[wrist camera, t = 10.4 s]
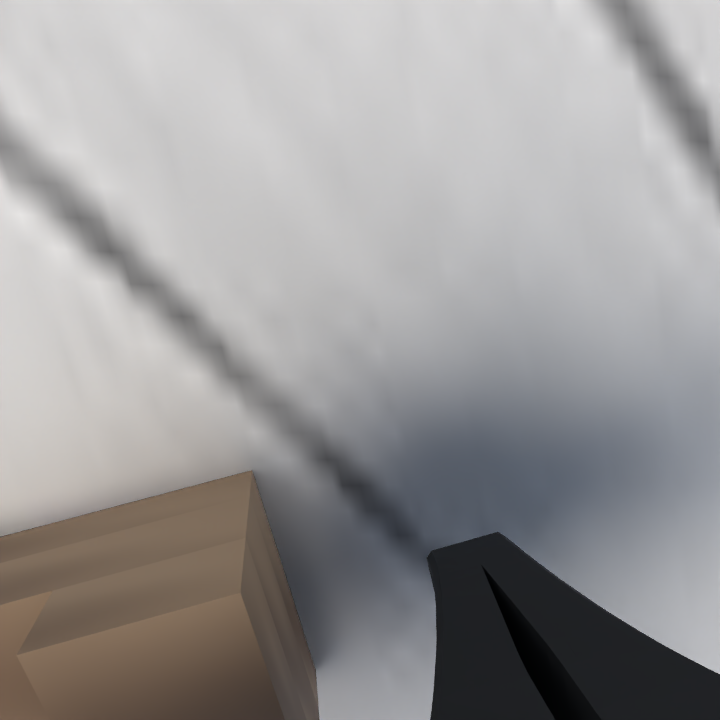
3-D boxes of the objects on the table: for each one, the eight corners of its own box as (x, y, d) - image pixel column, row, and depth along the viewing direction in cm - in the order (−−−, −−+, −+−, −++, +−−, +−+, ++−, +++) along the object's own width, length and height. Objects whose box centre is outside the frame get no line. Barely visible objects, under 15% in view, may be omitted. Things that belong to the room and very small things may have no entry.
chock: (314, 659, 13) (328, 844, 9) (-48, 763, 13) (-182, 1001, 9) (252, 463, 12) (240, 592, 8) (-161, 573, 11) (-381, 766, 7)
